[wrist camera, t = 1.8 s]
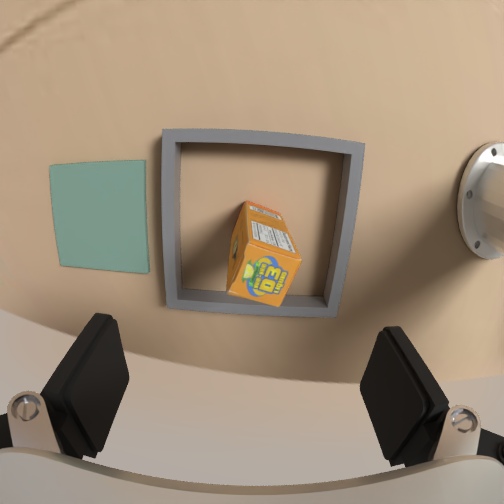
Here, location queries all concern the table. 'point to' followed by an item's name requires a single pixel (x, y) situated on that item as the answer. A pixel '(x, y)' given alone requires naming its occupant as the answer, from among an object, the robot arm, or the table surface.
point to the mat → (101, 215)
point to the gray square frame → (222, 300)
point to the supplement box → (261, 256)
